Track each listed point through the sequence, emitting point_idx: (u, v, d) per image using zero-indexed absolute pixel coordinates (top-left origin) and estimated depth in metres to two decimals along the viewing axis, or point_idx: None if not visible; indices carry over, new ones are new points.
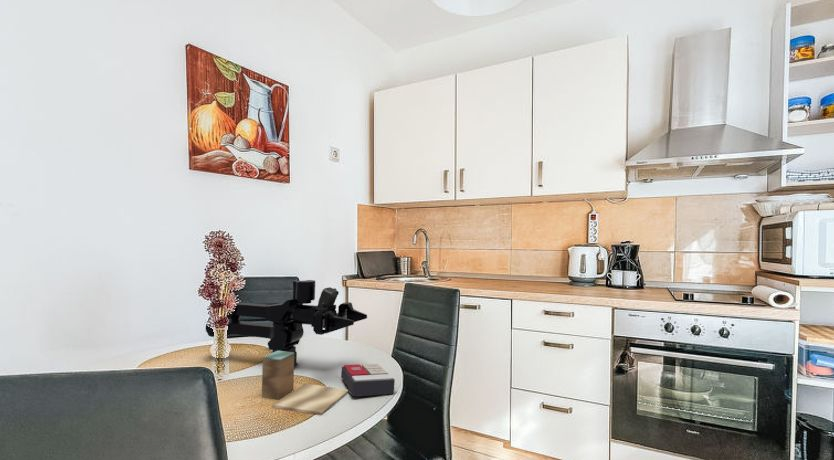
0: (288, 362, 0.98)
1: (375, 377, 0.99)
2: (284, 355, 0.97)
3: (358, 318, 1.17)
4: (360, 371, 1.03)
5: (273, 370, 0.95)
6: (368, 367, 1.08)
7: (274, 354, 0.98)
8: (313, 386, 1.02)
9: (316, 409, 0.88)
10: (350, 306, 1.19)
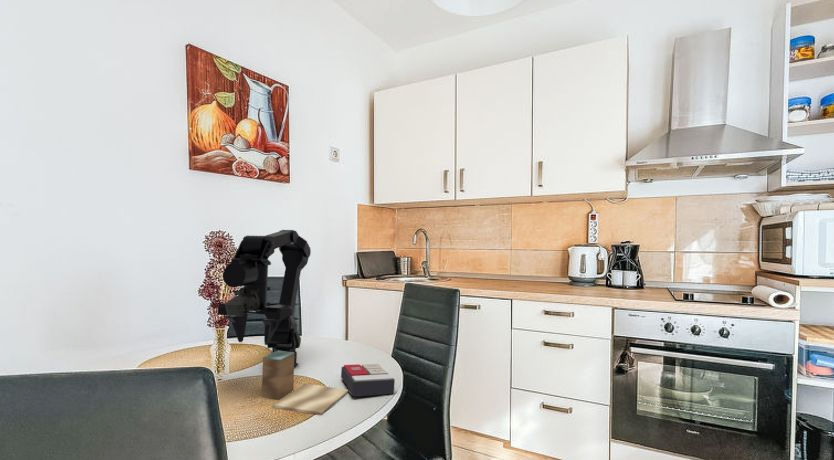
0: (288, 362, 0.98)
1: (375, 377, 0.99)
2: (284, 355, 0.97)
3: None
4: (360, 371, 1.03)
5: (273, 370, 0.95)
6: (368, 367, 1.08)
7: (274, 354, 0.98)
8: (313, 386, 1.02)
9: (316, 409, 0.88)
10: (265, 322, 0.97)
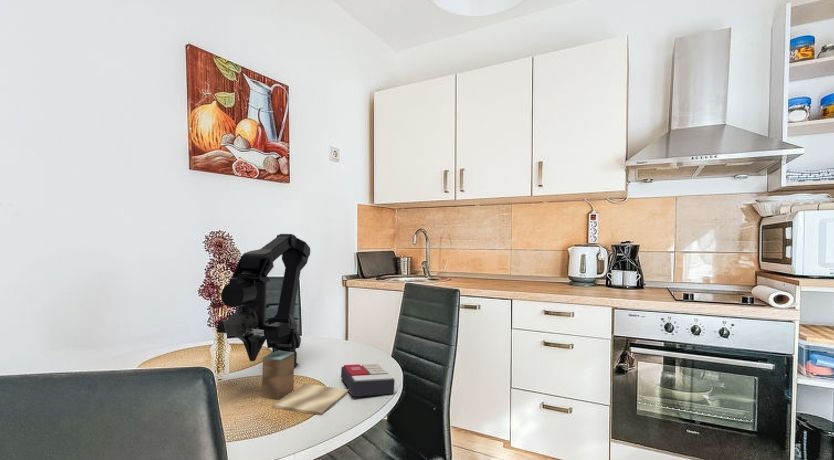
0: (288, 362, 0.98)
1: (375, 377, 0.99)
2: (284, 355, 0.97)
3: None
4: (360, 371, 1.03)
5: (273, 370, 0.95)
6: (368, 367, 1.08)
7: (274, 354, 0.98)
8: (313, 386, 1.02)
9: (316, 409, 0.88)
10: (252, 339, 0.98)
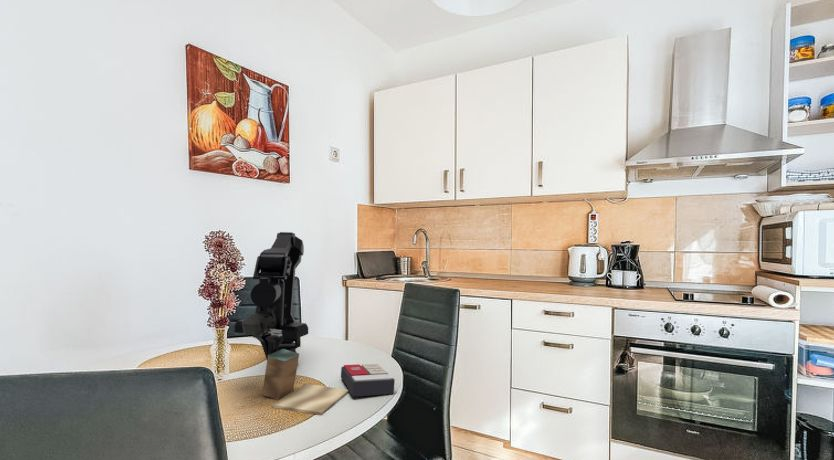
0: (292, 363, 0.97)
1: (375, 377, 0.99)
2: (289, 356, 0.97)
3: None
4: (360, 371, 1.03)
5: (277, 370, 0.95)
6: (368, 367, 1.08)
7: (279, 353, 0.98)
8: (313, 386, 1.02)
9: (316, 409, 0.88)
10: (269, 340, 0.96)
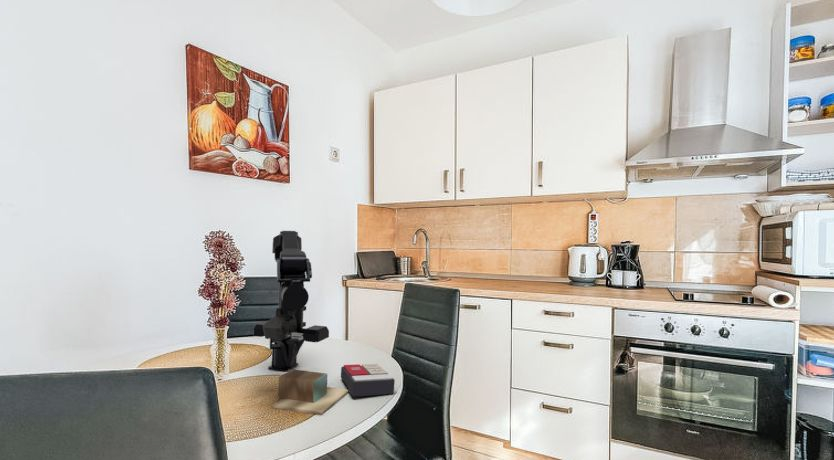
0: None
1: (375, 377, 0.99)
2: (320, 395, 0.94)
3: None
4: (360, 371, 1.03)
5: (303, 393, 0.92)
6: (368, 367, 1.08)
7: (320, 383, 0.94)
8: None
9: (316, 409, 0.88)
10: (290, 343, 0.94)
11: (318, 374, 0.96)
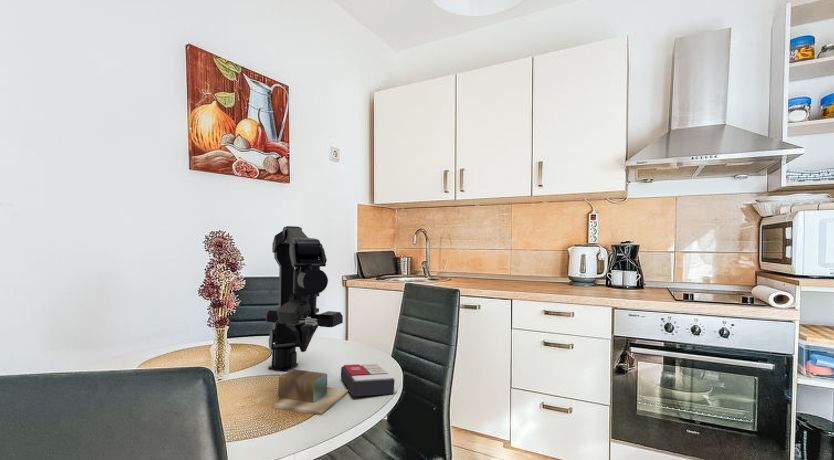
0: None
1: (375, 377, 0.99)
2: (320, 395, 0.94)
3: None
4: (360, 371, 1.03)
5: (303, 393, 0.92)
6: (368, 367, 1.08)
7: (320, 383, 0.94)
8: None
9: (316, 409, 0.88)
10: (304, 329, 0.94)
11: (318, 374, 0.96)
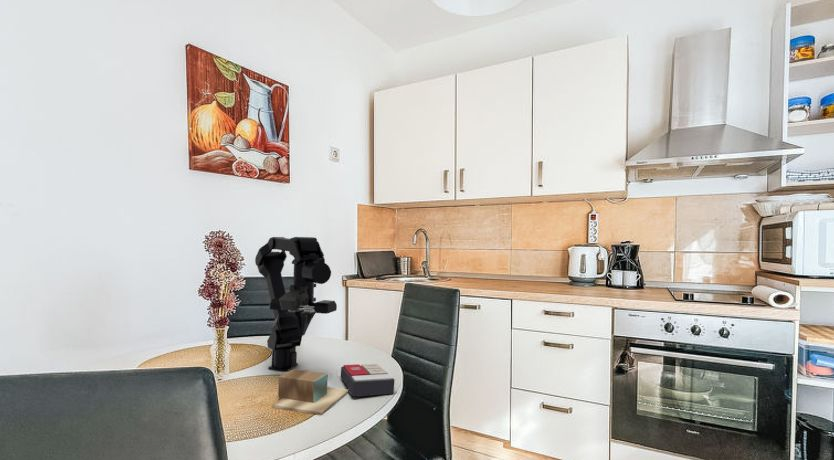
0: None
1: (375, 377, 0.99)
2: (320, 395, 0.94)
3: None
4: (360, 371, 1.03)
5: (303, 393, 0.92)
6: (368, 367, 1.08)
7: (320, 383, 0.94)
8: None
9: (316, 409, 0.88)
10: (302, 315, 1.07)
11: (318, 374, 0.96)
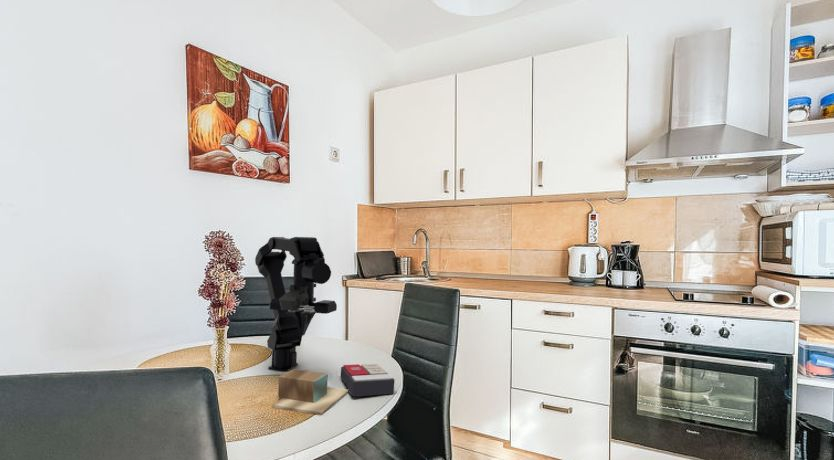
0: None
1: (375, 377, 0.99)
2: (320, 395, 0.94)
3: None
4: (360, 371, 1.03)
5: (303, 393, 0.92)
6: (367, 367, 1.08)
7: (320, 383, 0.94)
8: None
9: (316, 409, 0.88)
10: (302, 315, 1.07)
11: (318, 374, 0.96)
